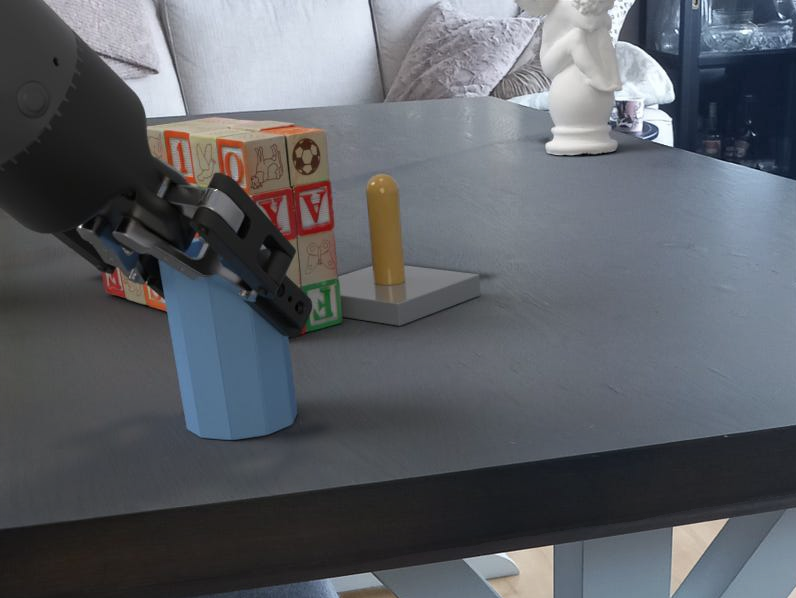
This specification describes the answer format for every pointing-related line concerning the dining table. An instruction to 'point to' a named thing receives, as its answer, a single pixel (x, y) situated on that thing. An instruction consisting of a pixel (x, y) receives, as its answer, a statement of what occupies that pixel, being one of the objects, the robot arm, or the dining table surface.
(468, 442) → the dining table surface
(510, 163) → the dining table surface
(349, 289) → the peg stand
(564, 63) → the cherub figurine
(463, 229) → the dining table surface
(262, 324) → the sleeve
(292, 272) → the stack of blocks
